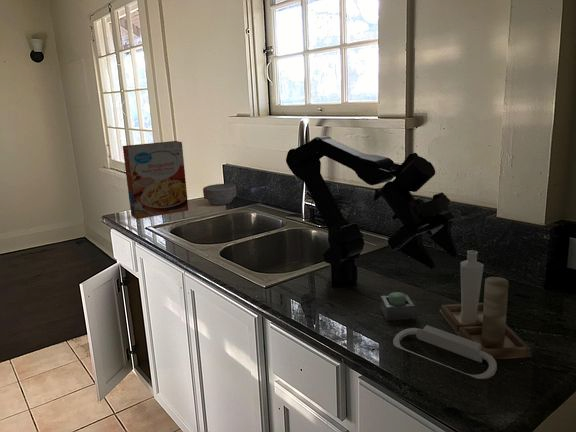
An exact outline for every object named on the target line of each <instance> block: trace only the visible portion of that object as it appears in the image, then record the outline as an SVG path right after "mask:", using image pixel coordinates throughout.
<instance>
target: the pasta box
mask: <svg viewBox="0 0 576 432" xmlns="http://www.w3.org/2000/svg"><path fill="white" fill-rule="evenodd" d="M122 154H123V160H124V169H125V177H126V183H127V186H126V187H127V193H128V201H129V209H130V216H131V217H132V218H134V219H136V220H139V219H147V218H152V217H158V216H164V215H170V214H175V213H181V212H186V211H187V212H188V211H189V202H188V200H189V199H188V194H187V193H188V191H187V181H186V170H185V159H184V158H185V157H184V151H183V141H177V140H170V141H162V142H152V143H151V142H150V143H139V144H130V145H122Z"/></svg>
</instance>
